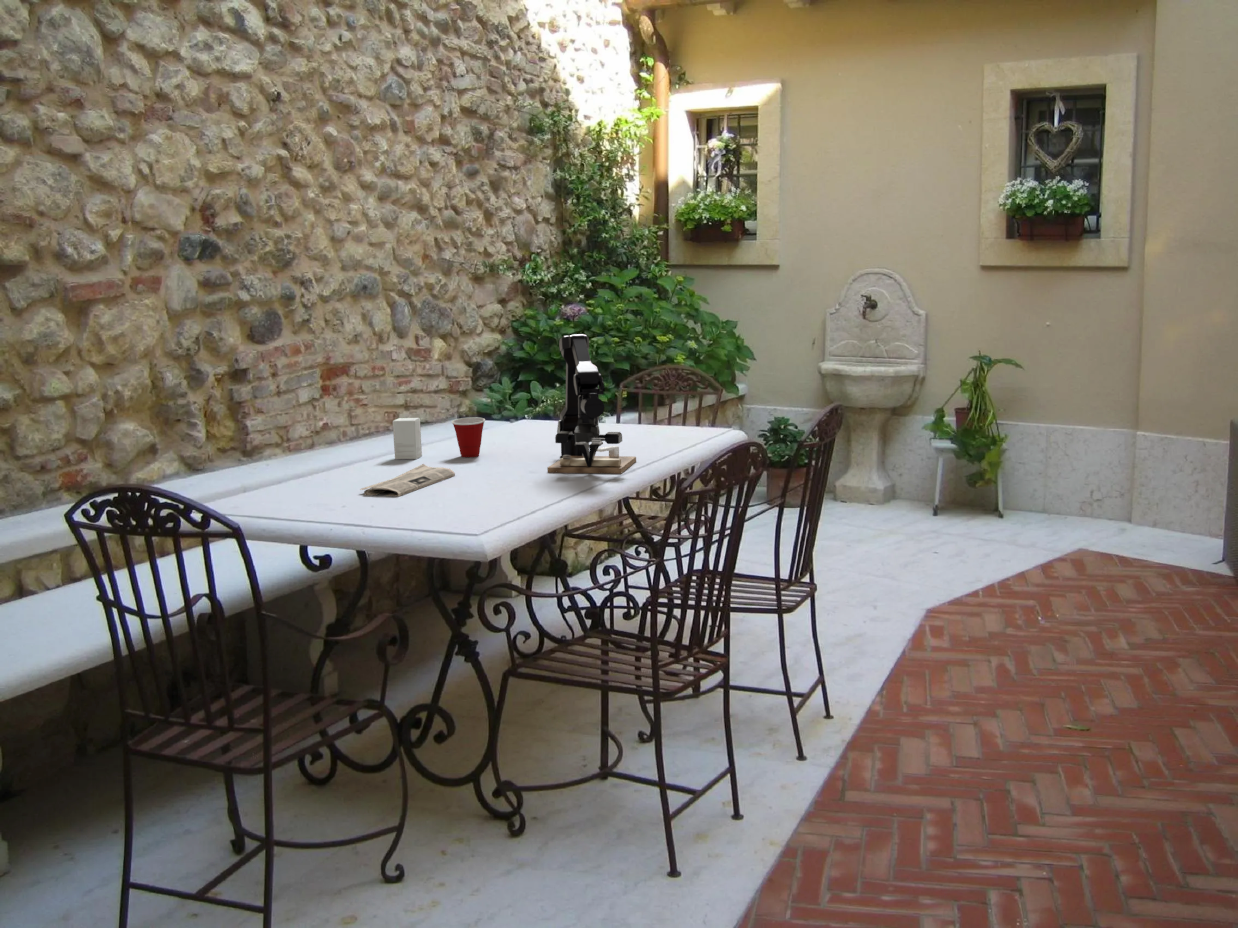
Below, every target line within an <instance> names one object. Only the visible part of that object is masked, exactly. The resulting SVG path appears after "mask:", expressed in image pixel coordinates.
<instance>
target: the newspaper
mask: <svg viewBox="0 0 1238 928" xmlns="http://www.w3.org/2000/svg"><path fill="white" fill-rule="evenodd" d="M455 476H456V472H454V471H453V469H450V468H448V467H435V466H434V467H433V466H428V465H426V464H424V463H422V464H420V465H418V466H416V467H413V468H411V469H410V470H408V471H406V472H403V473H402V474H400V475H398V476H396V477H394V478H391V479H387V480H384V481H381V482H378V483H375V484H371V485H369V486H364V487H362V488H360V489H359V490H360V491H363V493H364V494H363V495H365V496H377V495H379V494H382V493H383V494H384V493H385V492H388V491H391V493H388V494H385V495H384V496H385V497H398V498H399V497H401V496H402V497H403V496H404V495H407V494H410V493H413V492H415V491H418V490H421V489H424V488H426V487H429V486H431V485H434V484H437V483H439V482H442V481H445V480H447V479H451V478H453V477H455Z"/></svg>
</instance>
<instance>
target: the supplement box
mask: <svg viewBox="0 0 1238 928" xmlns="http://www.w3.org/2000/svg"><path fill="white" fill-rule="evenodd" d="M392 431H393V433H392V434H393V447H394V460H417V459H419V458H421V457H423V450H422V449H423V448H422V429H421V419H420V417H404V418H403V417H399V418H397V419H396V418H395V419H394V420H392Z"/></svg>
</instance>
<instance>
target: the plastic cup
mask: <svg viewBox="0 0 1238 928" xmlns="http://www.w3.org/2000/svg"><path fill="white" fill-rule="evenodd" d="M485 421H486V419H485V418H483V417H476V416H475V417H473V416H471V417H470V416H469V417H461V418H456V419H454V420H451V424H452V425H453V428H454V431H455V435H456V439H457V445H458V447H459V453H460V456H461V458H476V457H479V456H480V451H481V446H482V438H483V430H484V425H485Z"/></svg>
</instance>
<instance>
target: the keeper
mask: <svg viewBox="0 0 1238 928" xmlns="http://www.w3.org/2000/svg"><path fill="white" fill-rule="evenodd" d="M596 452H599V453H603V452H608V456H609V458H619V456H620V446H619V445H610V446H604V447H600V448H599V447H598V449H597V451H596Z"/></svg>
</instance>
